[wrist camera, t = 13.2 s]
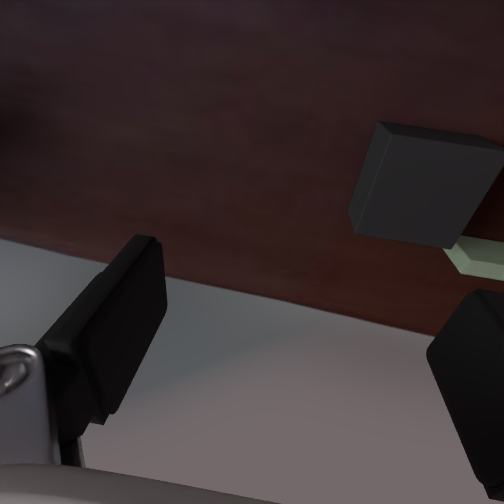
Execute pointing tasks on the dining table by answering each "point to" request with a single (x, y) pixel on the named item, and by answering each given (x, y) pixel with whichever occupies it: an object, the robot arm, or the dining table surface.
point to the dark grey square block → (422, 184)
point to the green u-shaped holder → (478, 257)
